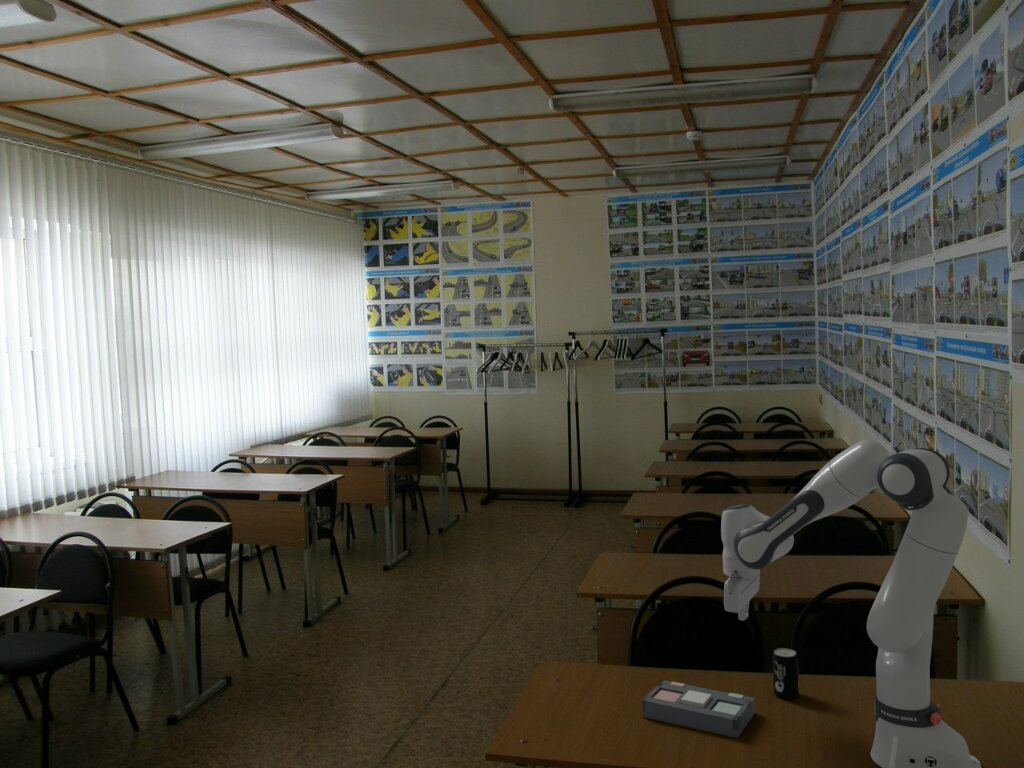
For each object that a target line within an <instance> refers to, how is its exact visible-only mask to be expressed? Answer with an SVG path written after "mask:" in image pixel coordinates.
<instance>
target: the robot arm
mask: <svg viewBox="0 0 1024 768" xmlns="http://www.w3.org/2000/svg"><path fill="white" fill-rule="evenodd" d="M950 470H951V468H950V465H949V463H948V460H947V459H946V458H945V457H944V456H943V455H942V453H939V452H938V451H936V450H934V449H931V448H926V447H925V448H924V447H923V448H922V447H917V448H911V449H904V450H898V451H896V452H895V453H893V452H890V451H889V450H888V449H887V448H886V447H885V446H884V445H882V444H881V443H880V442H878V441H875V440H872V439H863V440H860V441H858V442H856V443H854V444H852V445H850V446H849V447H847V448H845V449H844V450H842V451H841V452H840V453H838V454H837V455H835V456H834V457H833V458H831V459H830V460H829V461H828V462H827V463H825V465H823V466H822V468H821V469H819V471H817V472H816V474H814V476H813V477H812V478H811V479H810V480H809V481H808V483H807V484H806V485H805V486H804V487H803V488H802V489H801V490H800V491H799V492H798V493H797V494H796V495H795V496H794V497H793V499H791V500H790V501H789V502H788V503H787V504H786V505H784V506H783V507H782V508H781V509H779V510H778V511H777V512H776V513H774V514H773V515H771V516H768V515H766V514H764V513H762V512H760V511H759V510H757V509H756V508H755V507H754V506H753V505H751V504H749V503H741V504H734V505H731V506H728V507H727V508H724V510H723V511H722V514H721V521H720V523H721V524H720V533H721V534H720V537H721V541H722V544H723V546H722V547H723V550H722V567H723V568H722V569H723V570H722V571H723V572H722V573H723V574H724V575H725V576H727V577H728V579H727V580H725V582H724V585H723V586H724V588H723V606H724V610H725V612H729V613H737V616H738V620H739V621H745V620H746V619H747V618H748V617H749V609H750V601H751V599H752V598H754V597H755V595H756V594H757V593H758V592H759V590H760V585H761V569H764V568H765V567H767V566H768V565H769V564H771V563H773V562H774V561H776V560H778V559H780V558H781V557H783V556H784V555H786V554H788V553H789V552H790V551H792V548H793V547H794V544H795V536H794V535H795V534H796V533H797V532H799V531H800V530H801V529H803V528H804V527H805V526H807V525H809V524H811V523H813V522H815V521H818V520H820V519H823V518H825V517H828V516H830V515H833V514H836V513H838V512H841V511H843V510H845V509H848V508H849V507H852V506H853V505H854V504H856V503H857V502H859V501H860V500H862V499H863V498H865V497H866V496H867V495H869V494H870V493H871V492H872V491H873V490H875V489H877V488H878V487H879V489H880V490H881V491H882V492H883V493H884V495H886V496H887V497H888V498H890V499H891V500H892V501H894V502H896V503H898V505H899V506H900V507H902V508H904V509H905V510H907V511H911V516H910V518H909V521H908V524H907V527H906V529H905V531H904V533H903V536H902V539H901V542H900V544H899V546H898V549H897V552H896V554H895V557H894V559H893V561H892V564H891V565H890V568H889V569H888V572H887V574H886V576H885V579H883V582H882V584H881V587H880V589H879V591H878V592H877V595H876V597H875V600H874V602H873V604H872V606H871V608H870V610H869V614H868V616H867V620H866V632H867V635H868V637H869V639H870V640H871V641H872V644H874V645H875V646H876V647H877V648H878V650H877V656H876V660H875V675H876V676H875V678H876V679H875V680H876V681H875V683H876V694H875V696H874V701H873V705H874V707H873V709H874V718H875V722H876V723H875V731H874V732H875V733H874V737H873V738H874V739H873V743H872V746H871V747H872V748H871V750H870V757H871V759H872V761H873V762H874V763H875V764H876V765H878V766H879V767H881V768H982V764H981V763H980V760H979V759H977V757H975V756H974V755H971V754H970V749H969V745H968V743H967V741H966V739H965V738H964V737H963V735H961V734H960V733H959V732H957V731H956V730H955V729H954V728H952V727H951V726H950V725H948V724H947V723H946V722H944V721H943V720H942V715H941V713H942V711H941V705H940V703H939V702H937V704H935V703H934V702H933V701H931V684H930V683H931V680H930V679H931V678H930V677H931V676H930V674H931V673H930V669H931V668H930V667H931V658H932V649H933V648H932V646H933V634H934V632H933V631H934V615H935V605H936V603H938V602H937V601H938V599H939V598H940V596H941V593H942V591H943V589H944V587H945V585H946V583H947V581H948V578H949V576H950V573H951V572H952V568H953V566H954V564H955V561H956V558H957V556H958V554H959V553H960V552H959V551H960V549H961V546H962V543H963V540H964V537H965V534H966V529H967V527H968V526H967V525H968V519H969V509H968V508H967V505H966V504H965V502H963V501H962V500H961V499H960V498H959V497H957V496H955V495H953V494H950V493H949V492H948V491H946V490H945V489H944V488H945V486H946V485H947V484H948V482H949V480H950V475H951V471H950Z"/></svg>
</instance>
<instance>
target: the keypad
mask: <svg viewBox="0 0 1024 768" xmlns="http://www.w3.org/2000/svg"><path fill="white" fill-rule="evenodd" d="M660 690H664V691H669V692H674V693H679V694H682V695H681V696H680V697H679V698H678V699H677V700H676V701H675V702H671V701H666V700H661V699H656V698H653V697H654V696H655V695H656V694H657V693H658V692H659V691H660ZM689 690H691V691H696V692H701V693H706V694H711V701H710V702H709V704H708V705H707V706H706V707H705V708H700V707H695V706H690V705H685V704H681V698H682V697H683V696H684V695H685V694H686V693H687V692H688V691H689ZM641 701H642V702H641V705H642V718H644V719H645V718H646V719H650V720H655V721H660V722H664V723H669V724H673V725H677V726H681V727H686V728H689V729H694V730H695V729H696V730H699V731H704V732H707V733H712V734H718V735H723V736H726V737H731V738H735V739H738V738H739V736H740V735H741V734H742V732H743V731H744V729H745V728H746V727H747V725H748V724H749V722H750V721H751V719H752V718H753V716H754V715H755V714H756V705H755V701H756V700H755V697H751V696H746V695H743V694H739V693H735V692H734V693H733V692H726V691H720V690H715V689H712V688H711V689H709V688H705V687H701V686H694V685H689V684H686V683H684V682H676V681H669V680H663V681H662V682H659V683H658V684H657V685H656V686H655V687H654V688H653V689H652V690H651V691H650V692H649V693H648V694H647V695H646V696H645V697H644V698H643V699H642V700H641ZM718 702H723V703H728V704H733V705H738V706H742V707H741V708H740V710H739V711H738V712H737V714H736V715H733V714H728V713H723V712H719V711H714V710H712V709H713V708H714V707H715V706H716V705H717V703H718Z"/></svg>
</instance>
